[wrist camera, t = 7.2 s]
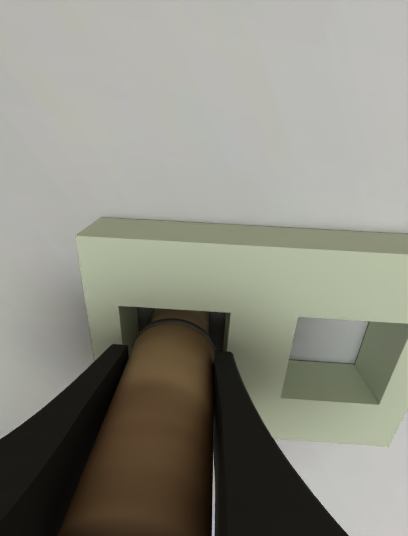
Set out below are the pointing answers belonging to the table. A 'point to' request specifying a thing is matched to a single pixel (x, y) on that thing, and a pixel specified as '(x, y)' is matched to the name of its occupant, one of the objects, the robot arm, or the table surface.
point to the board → (267, 312)
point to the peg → (154, 439)
